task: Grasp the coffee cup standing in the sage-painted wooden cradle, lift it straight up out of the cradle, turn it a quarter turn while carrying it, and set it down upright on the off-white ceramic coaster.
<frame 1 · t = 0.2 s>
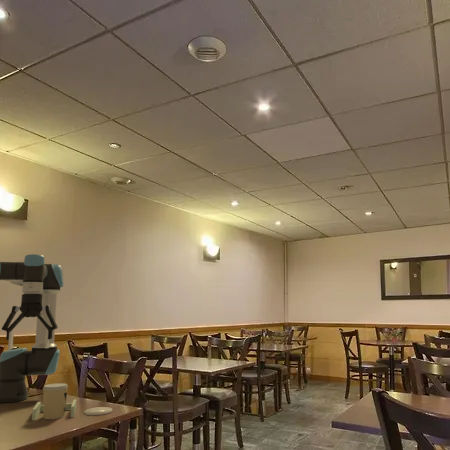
hand: (28, 348, 169), 27 cm above the table, fingers open, 13 cm apart
cradle: (54, 416, 173), on the table
coffee cup: (54, 417, 173), on the table
coaster: (98, 412, 180), on the table
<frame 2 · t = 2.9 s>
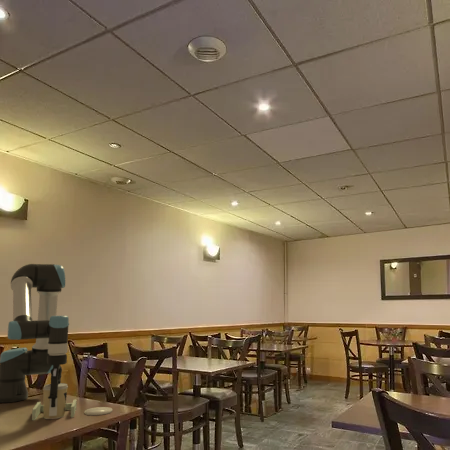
hand: (54, 412, 174), 1 cm above the table, fingers closed on coffee cup, 9 cm apart
coffee cup: (53, 417, 173), on the table, touching gripper
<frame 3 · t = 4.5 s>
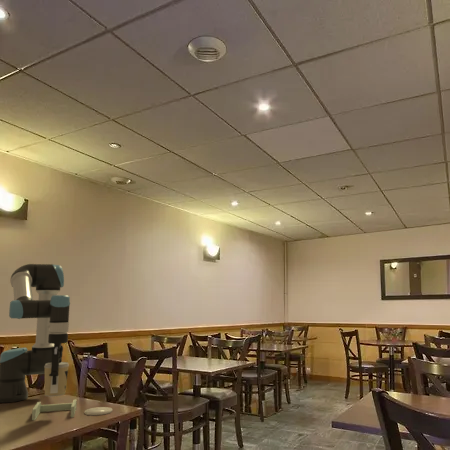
hand: (55, 390, 175), 10 cm above the table, fingers closed on coffee cup, 9 cm apart
coffee cup: (55, 394, 175), point 8 cm above the table, touching gripper
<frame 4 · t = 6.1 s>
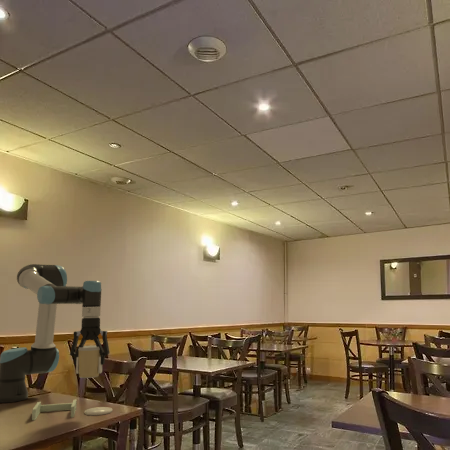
hand: (89, 373, 181), 16 cm above the table, fingers closed on coffee cup, 9 cm apart
coffee cup: (88, 377, 180), point 14 cm above the table, touching gripper
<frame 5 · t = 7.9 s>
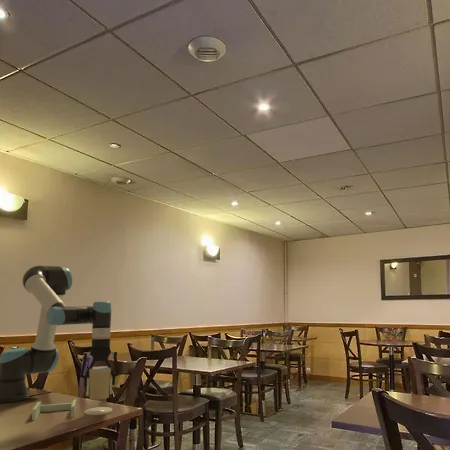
hand: (99, 394, 181), 7 cm above the table, fingers closed on coffee cup, 9 cm apart
coffee cup: (99, 398, 180), point 5 cm above the table, touching gripper
when the fingers open (3 cm above the table, at t = 9.1 s): coffee cup drops 1 cm, resting on coaster.
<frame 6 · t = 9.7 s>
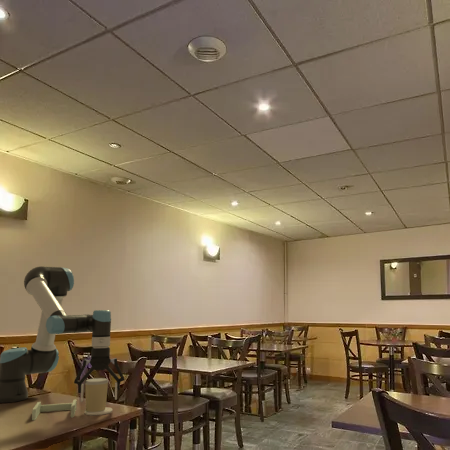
hand: (98, 400, 180), 5 cm above the table, fingers open, 13 cm apart
coffee cup: (95, 410, 179), point 1 cm above the table, touching coaster
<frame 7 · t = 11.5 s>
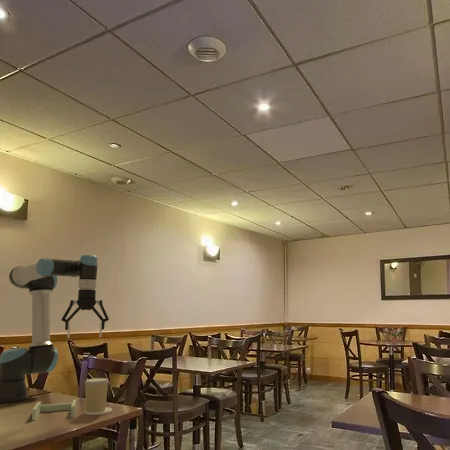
hand: (84, 337, 194), 29 cm above the table, fingers open, 13 cm apart
nothing on the table moved.
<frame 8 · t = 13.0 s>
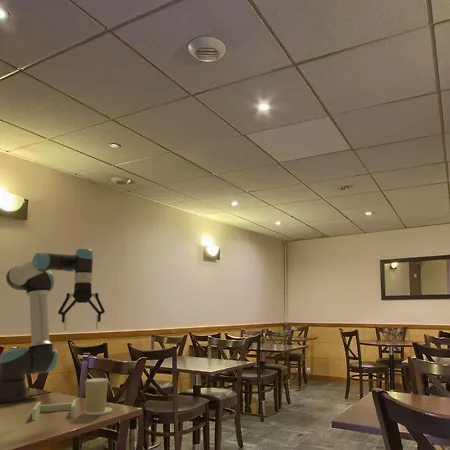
hand: (81, 329, 197), 33 cm above the table, fingers open, 13 cm apart
nothing on the table moved.
at the end: coffee cup 1.2 cm from the coaster (horizontally); coffee cup tilted 0°; coffee cup touching coaster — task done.
